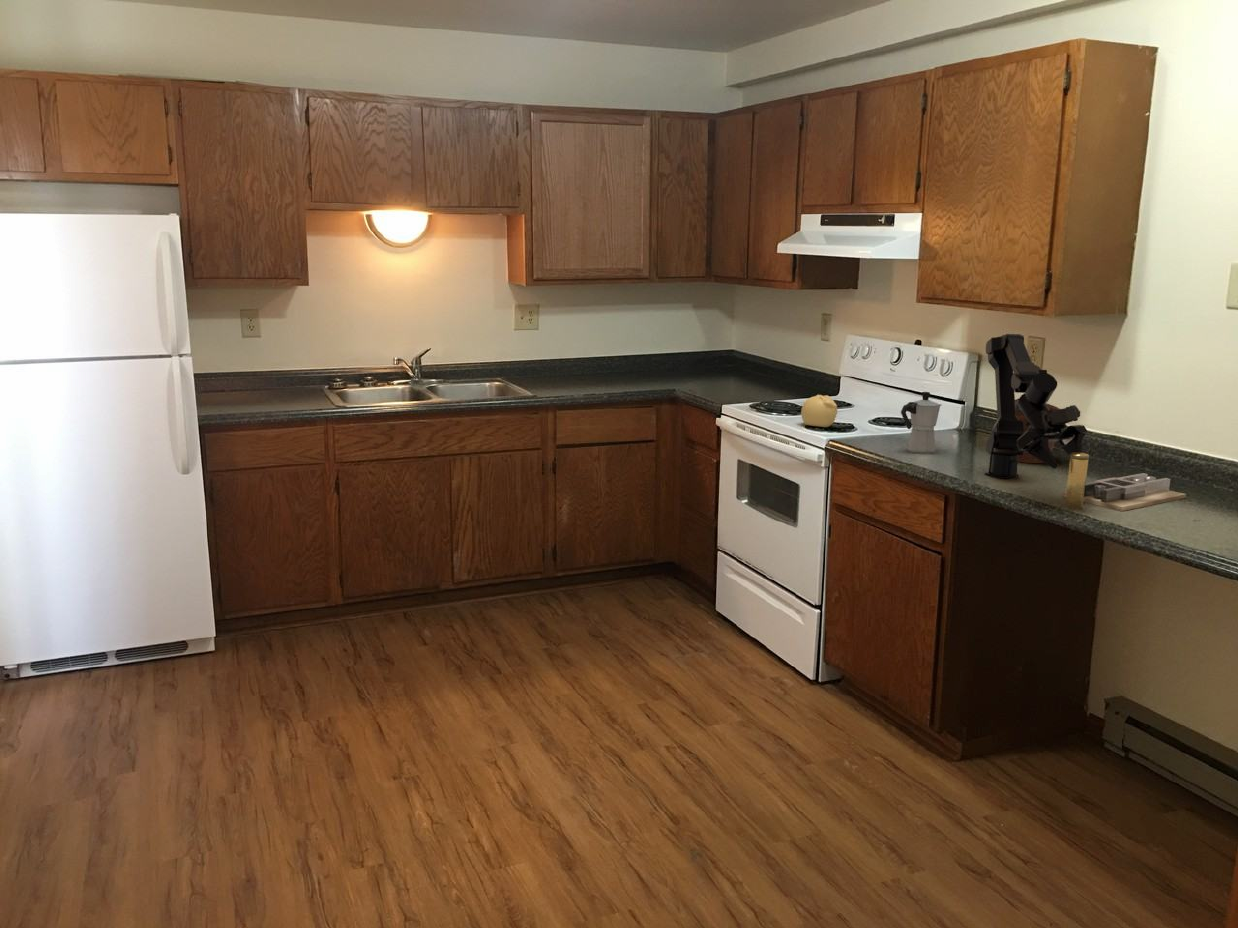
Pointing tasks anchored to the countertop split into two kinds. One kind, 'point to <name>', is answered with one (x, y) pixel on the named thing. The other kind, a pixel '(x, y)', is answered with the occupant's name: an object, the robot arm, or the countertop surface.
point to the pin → (1076, 480)
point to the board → (1136, 500)
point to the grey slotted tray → (1125, 487)
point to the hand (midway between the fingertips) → (1069, 466)
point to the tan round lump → (819, 411)
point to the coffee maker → (921, 424)
